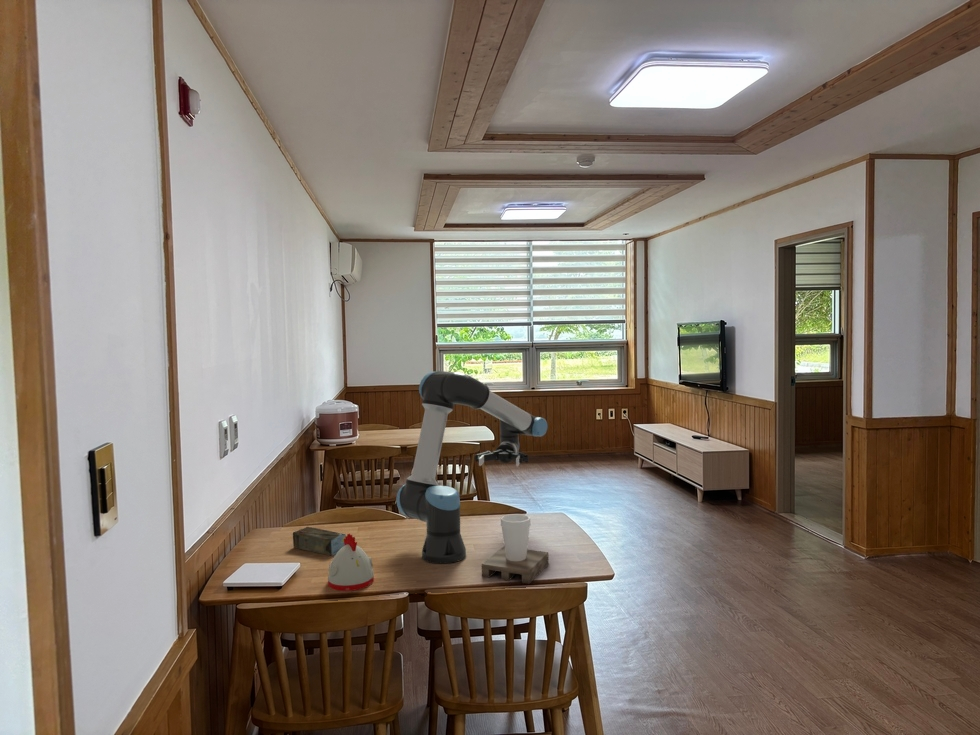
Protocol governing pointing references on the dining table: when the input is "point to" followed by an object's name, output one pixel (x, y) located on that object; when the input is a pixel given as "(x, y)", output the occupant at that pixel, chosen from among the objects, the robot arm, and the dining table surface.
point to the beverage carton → (318, 540)
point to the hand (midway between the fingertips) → (498, 462)
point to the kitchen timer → (350, 567)
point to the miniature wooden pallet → (516, 565)
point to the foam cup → (515, 535)
